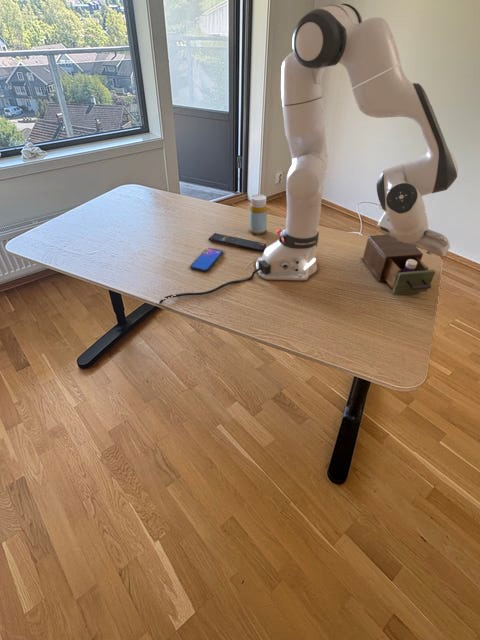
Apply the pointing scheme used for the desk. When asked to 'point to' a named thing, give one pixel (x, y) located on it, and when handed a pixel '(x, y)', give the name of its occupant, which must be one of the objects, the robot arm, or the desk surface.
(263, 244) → the remote control
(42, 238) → the desk surface
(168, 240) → the desk surface
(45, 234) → the desk surface
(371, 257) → the cabinet
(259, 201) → the bottle
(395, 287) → the drawer
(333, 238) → the desk surface
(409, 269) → the glue stick
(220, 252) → the smartphone
